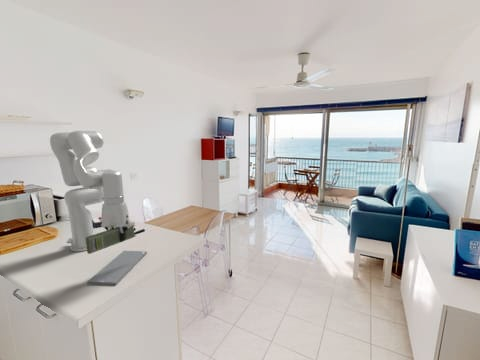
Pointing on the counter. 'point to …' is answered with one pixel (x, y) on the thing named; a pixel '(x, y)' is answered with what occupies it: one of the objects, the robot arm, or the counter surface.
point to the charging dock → (117, 268)
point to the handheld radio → (108, 238)
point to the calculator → (97, 222)
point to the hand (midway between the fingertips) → (118, 240)
